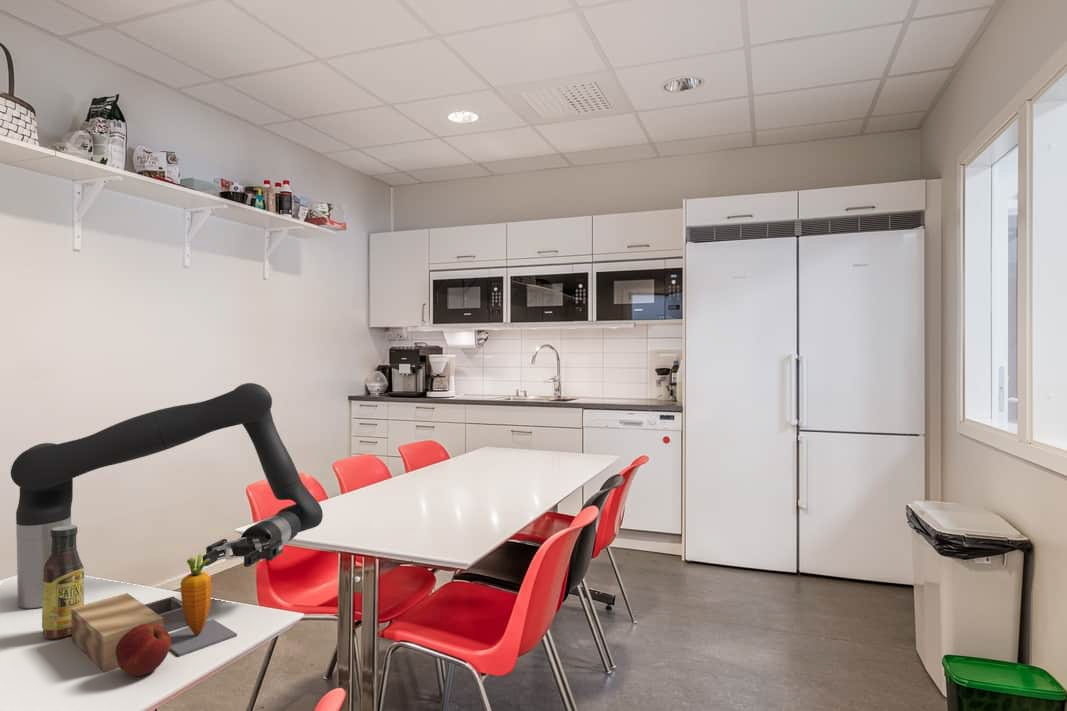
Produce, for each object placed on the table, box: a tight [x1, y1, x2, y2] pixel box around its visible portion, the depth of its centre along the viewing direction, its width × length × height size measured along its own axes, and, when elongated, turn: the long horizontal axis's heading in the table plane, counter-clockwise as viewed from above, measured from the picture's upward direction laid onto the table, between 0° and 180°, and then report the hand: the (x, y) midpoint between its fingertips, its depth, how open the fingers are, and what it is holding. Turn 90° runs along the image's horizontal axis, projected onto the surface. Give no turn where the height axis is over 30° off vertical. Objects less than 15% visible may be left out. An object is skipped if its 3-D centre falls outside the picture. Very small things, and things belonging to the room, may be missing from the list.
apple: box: [115, 623, 171, 677], centre depth 103 cm, size 7×8×8 cm
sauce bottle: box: [41, 524, 85, 640], centre depth 118 cm, size 7×6×20 cm
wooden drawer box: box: [71, 592, 189, 673], centre depth 115 cm, size 18×16×6 cm
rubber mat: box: [169, 618, 238, 657], centre depth 115 cm, size 10×10×1 cm
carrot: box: [180, 553, 212, 636], centre depth 115 cm, size 5×5×15 cm
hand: (225, 561), depth 125 cm, fingers open, 8 cm apart
